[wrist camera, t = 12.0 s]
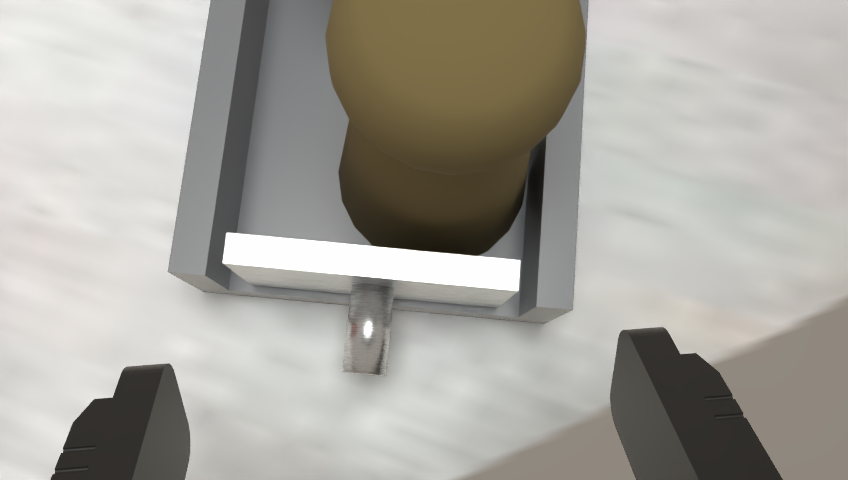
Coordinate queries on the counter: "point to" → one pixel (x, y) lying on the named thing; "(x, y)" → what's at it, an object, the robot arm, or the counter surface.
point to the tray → (332, 165)
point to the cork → (447, 112)
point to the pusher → (371, 283)
